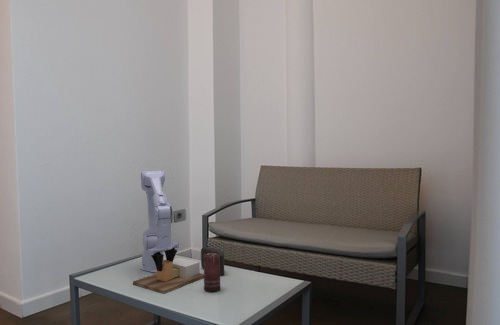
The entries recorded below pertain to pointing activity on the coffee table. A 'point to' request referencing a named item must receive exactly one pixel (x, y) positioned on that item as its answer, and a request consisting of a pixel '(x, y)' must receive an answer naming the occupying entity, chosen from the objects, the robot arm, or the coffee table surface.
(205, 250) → the leaning round-cornered charcoal block
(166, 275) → the tan wooden l-shaped block
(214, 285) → the can
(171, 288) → the walnut board
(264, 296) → the coffee table surface
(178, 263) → the block
